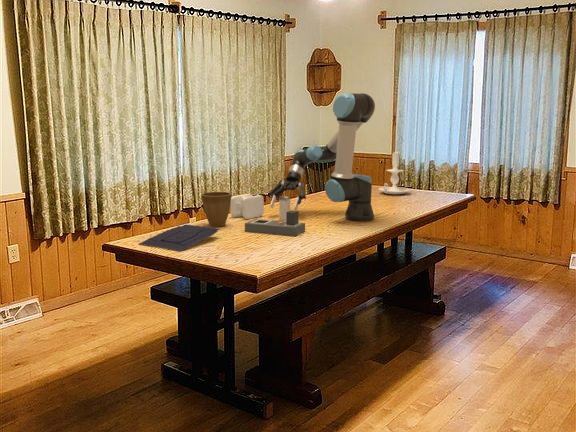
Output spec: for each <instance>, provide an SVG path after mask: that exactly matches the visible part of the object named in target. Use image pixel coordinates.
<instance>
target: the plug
mask: <svg viewBox="0 0 576 432" xmlns="http://www.w3.org/2000/svg"><path fill="white" fill-rule="evenodd" d="M278 202H279V203H278V204H279V205H278V206H279V207H278V209H279V210H278V211H279V212H278V215H279V216H278V218H279V220H278V221H286V212H288V211H291V196H290V195H282V196H279V200H278Z"/></svg>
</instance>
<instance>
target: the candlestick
mask: <svg viewBox="0 0 576 432" xmlns="http://www.w3.org/2000/svg"><path fill="white" fill-rule="evenodd" d="M391 163H392V168H391V169H385V171H386V172H389V173H391V176H390V179H389V181H390V183H391V184H392V186H389V184H388V183H386V182H384V183H383V187H379V188H378V190H379V191H380V192H382V193H383V194H387V195H402V194H406V193H408V192H409V191H411V188H408V187H402V186H397V184H398V183H399V181H400V177H399V175H398V174H399V173H402V172H405V171H404V169H398V166H399V151H393V152H392V161H391Z"/></svg>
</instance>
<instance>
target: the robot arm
mask: <svg viewBox="0 0 576 432" xmlns="http://www.w3.org/2000/svg"><path fill="white" fill-rule="evenodd" d="M374 100H375V99H374V98H373V97H372V96H370V95H369V94H368V93H363V92H362V93H360V92H359V93H357V92H356V93H353V92H352V93H351V92H347V93H341V94H339V95H338V96H337V97H336V98H335V99H334V101H333V104H332V111H333V114H334V115H335V117H336V121H337V123H338V130H337V131H336V133H335V134H334V135H333V137H332V138H331V139H330V140H329V141H328V142H327V144H326V145H325V146H318V145H317V144H316V145H312V146H309V147H308V148H306V149H298V150H296V151H295V153H294V154H293V157H292V161H291V164H290V167H289V170H288V172H287V174H286V178H285V181H283V180H279V182H278V183H277V184H276V185H275V186H274V187H273V188H272V190H271V191H269V195H270V197H271V198H270V204H269V205H270V208H271V209H273V208H274V206H275V203H276V201H277V197H278V196H279V195H281V194H282V193H283V192H286V191H295V193H296V194H297V197H296V199H295V202H294V206H293V208H294V211H298V207H299V206H300V205H301V204H302V200H306V198H307V197H306V191H305V183H304V181H301V180H302V177H303V174H304V170H305V167H306V166H307V165H310V164H312V163H315V162H326V161H332V162H333V161H335V163H334V164H335V165H334V171H333V172H331V174H330V179H329V180H327V182H326V183H325V185H324V186H325V187H324V191H325V195H326V196H327V198H328V199H329V201H331V202H334V203H342V202H348V205H347V206H346V207H347V208H346V211H345V214H344V219H345V220H349V221H355V222H367V221H369V222H370V221H373V220H374V219H375V212H374V209H373V206H372V186H373V183H372V177H371V176H370V175H366V174H365V175H364V174H358V173H357V174H355V173H353V172H352V171H353V164H354V163H353V161H354V155H355V154H354V153H355V146H356V138H357V137H356V135H357V131H359V129H360V127H362V125H364V124H366V123H367V122H368V121H369V120H370V119H371V118H372V116H373V115H374V112H375V110H376V103H375V101H374ZM299 187H300V190H301V193H300V191H299V189H298V188H299Z"/></svg>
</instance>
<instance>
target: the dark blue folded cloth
mask: <svg viewBox="0 0 576 432" xmlns="http://www.w3.org/2000/svg"><path fill="white" fill-rule="evenodd" d="M220 230H221V229H220V228H216V227H208V226H201V225H192V224H185V223H184V224H183V225H181V226H180V225H178V226H176V227H172V228H170V229H167V230H165V231H162V232H160V233H159V234H157V235H154V236H152V237H150V238H147V239H146V240H144V241H142V242H140V243H138V245H141V246H147V247H148V246H149V247H153V248H154V247H155V248H162V249H166V250H172V251H177V252H182V251H184V250H186V249H188V248H190V247H192V246H193V245H195V244H197V243H199V242H201V241H203V240H205V239H208V238H209V237H211V236H213V235H215V234H217V233H218V232H219V231H220Z"/></svg>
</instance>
